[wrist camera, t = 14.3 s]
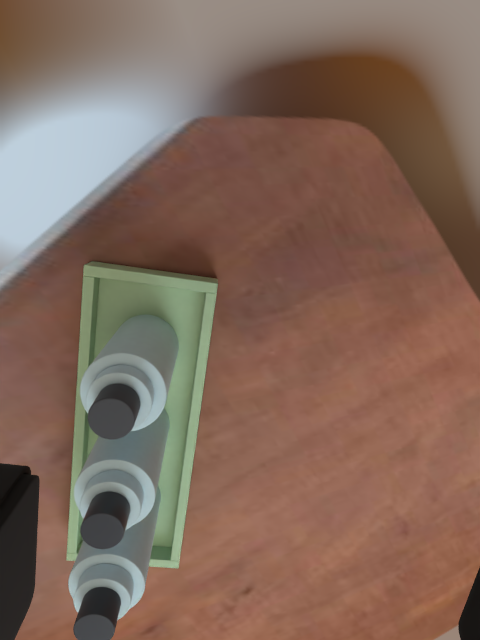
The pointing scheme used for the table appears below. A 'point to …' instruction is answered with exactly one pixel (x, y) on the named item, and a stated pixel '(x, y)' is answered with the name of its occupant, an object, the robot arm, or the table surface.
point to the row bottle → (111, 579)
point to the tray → (184, 392)
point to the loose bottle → (130, 377)
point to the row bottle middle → (120, 483)
